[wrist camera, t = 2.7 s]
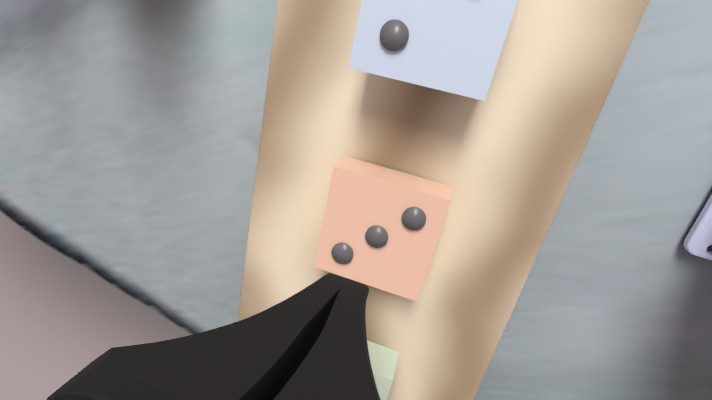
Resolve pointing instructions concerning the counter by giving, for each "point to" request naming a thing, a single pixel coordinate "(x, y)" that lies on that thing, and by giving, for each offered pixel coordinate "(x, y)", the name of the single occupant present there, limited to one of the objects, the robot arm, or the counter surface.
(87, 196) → the counter surface
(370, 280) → the tile three
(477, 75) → the tile two
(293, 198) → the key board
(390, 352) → the tile one
